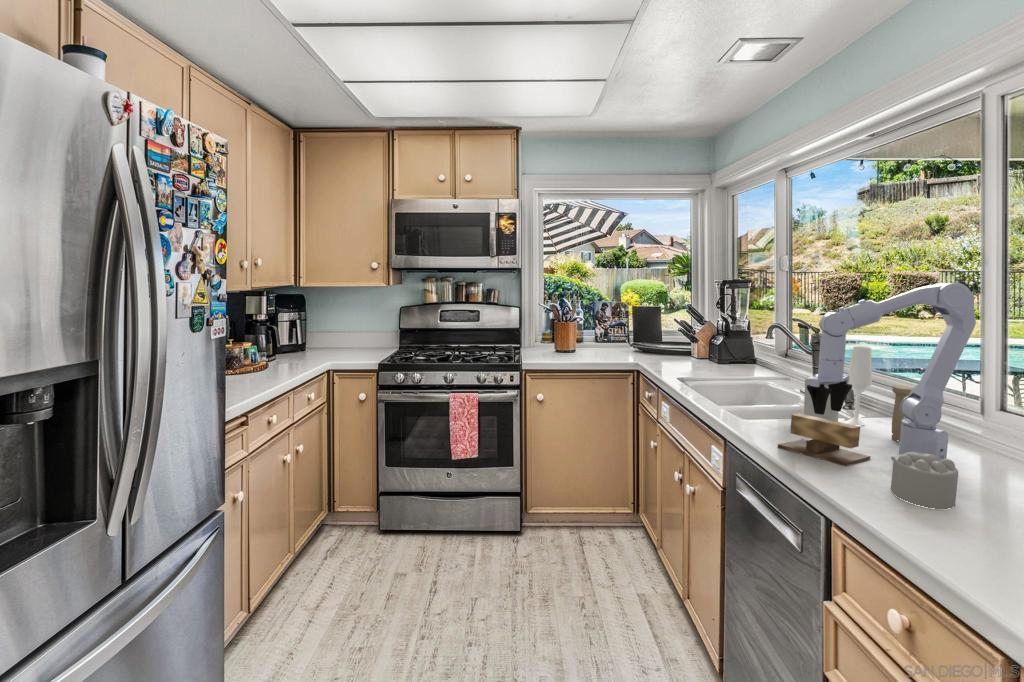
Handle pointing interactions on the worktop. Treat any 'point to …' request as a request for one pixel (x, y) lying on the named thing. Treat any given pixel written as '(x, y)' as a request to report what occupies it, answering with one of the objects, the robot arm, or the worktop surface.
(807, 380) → the skincare box
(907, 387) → the handle
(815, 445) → the walnut board
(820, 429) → the oak bar
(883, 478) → the worktop surface
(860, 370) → the champagne flute
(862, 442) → the worktop surface
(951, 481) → the lumpy-topped squat cylinder
